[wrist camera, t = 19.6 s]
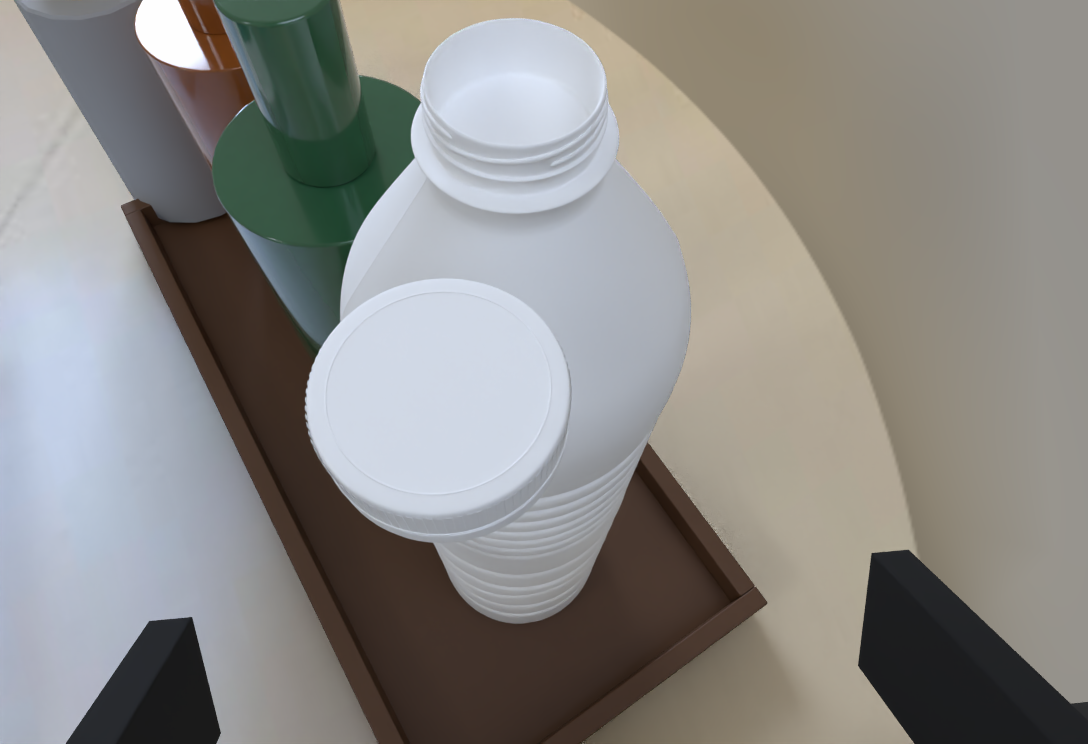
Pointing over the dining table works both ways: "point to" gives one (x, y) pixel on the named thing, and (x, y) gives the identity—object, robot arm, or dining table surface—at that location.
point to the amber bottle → (194, 65)
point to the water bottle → (504, 325)
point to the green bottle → (306, 152)
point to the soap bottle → (125, 103)
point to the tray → (415, 566)
